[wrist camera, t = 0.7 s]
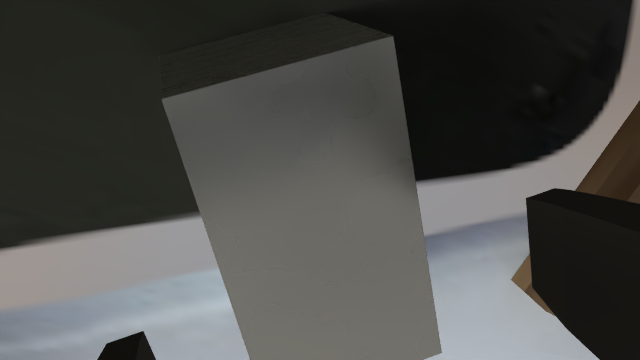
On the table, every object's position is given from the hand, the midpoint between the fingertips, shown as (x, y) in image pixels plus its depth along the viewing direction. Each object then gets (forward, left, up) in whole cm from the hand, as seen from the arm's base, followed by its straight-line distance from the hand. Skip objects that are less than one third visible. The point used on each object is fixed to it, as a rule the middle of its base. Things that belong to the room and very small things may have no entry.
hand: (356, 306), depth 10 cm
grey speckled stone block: (0, 0, -7) cm, 7 cm away
